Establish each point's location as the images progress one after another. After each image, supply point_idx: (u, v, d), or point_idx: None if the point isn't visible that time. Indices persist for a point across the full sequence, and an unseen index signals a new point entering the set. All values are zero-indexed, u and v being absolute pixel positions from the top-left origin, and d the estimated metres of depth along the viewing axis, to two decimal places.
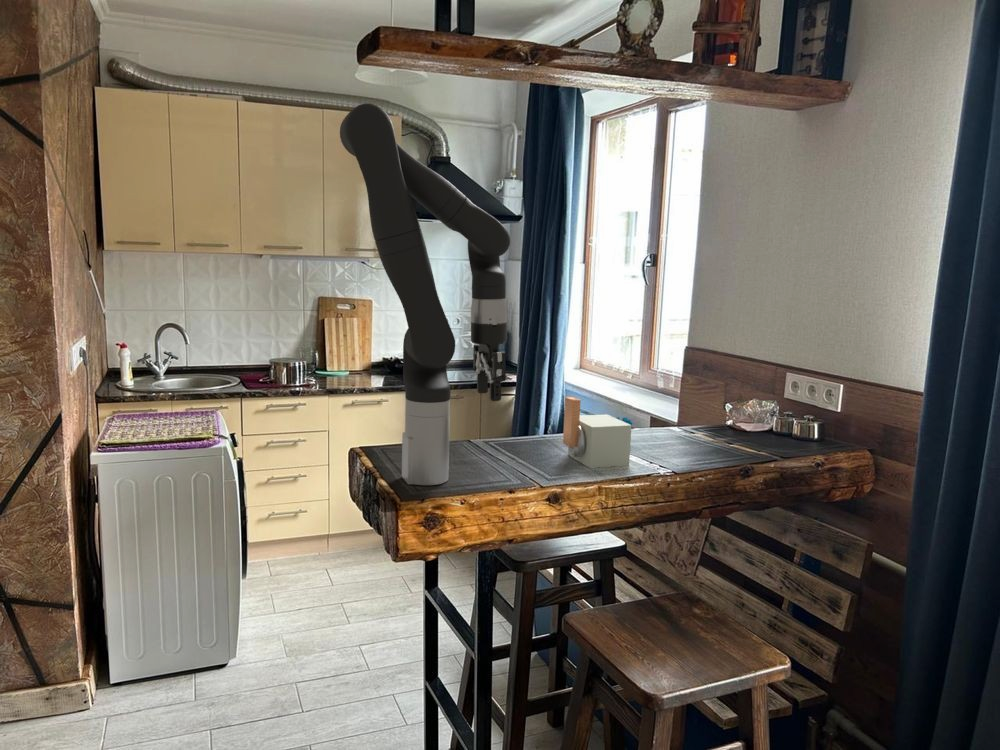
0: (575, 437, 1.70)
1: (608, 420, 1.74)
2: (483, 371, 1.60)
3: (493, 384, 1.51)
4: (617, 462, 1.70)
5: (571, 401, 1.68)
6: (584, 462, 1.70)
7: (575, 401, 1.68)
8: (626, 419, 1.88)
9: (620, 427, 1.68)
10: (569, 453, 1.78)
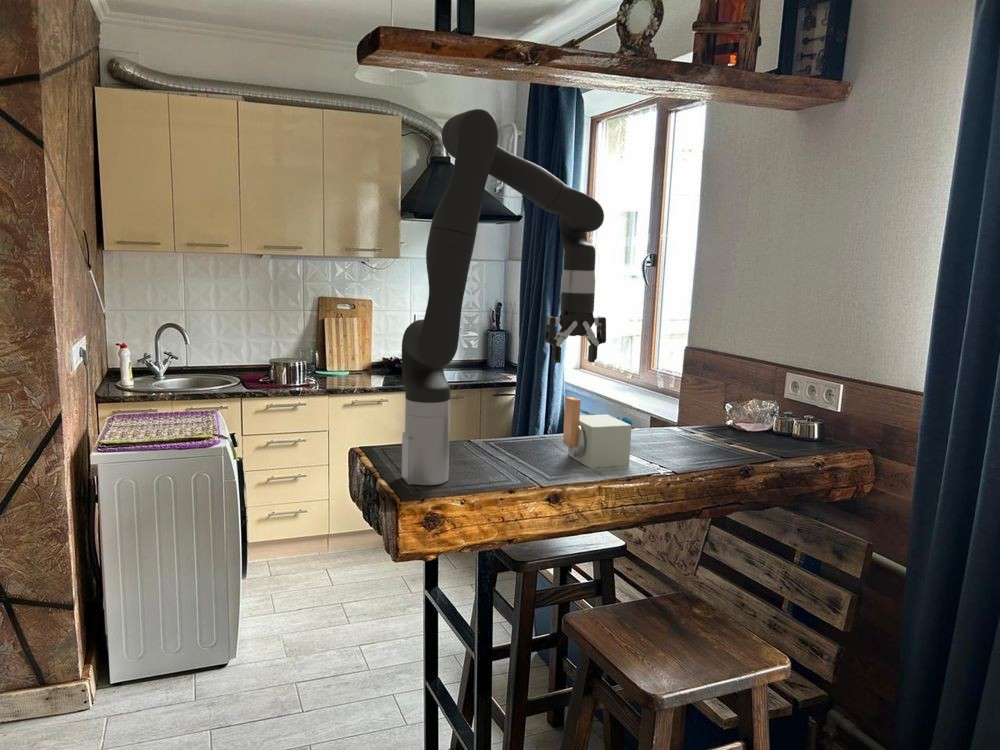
0: (575, 437, 1.70)
1: (608, 420, 1.74)
2: None
3: (596, 346, 1.69)
4: (617, 462, 1.70)
5: (571, 401, 1.68)
6: (584, 462, 1.70)
7: (575, 401, 1.68)
8: (626, 419, 1.88)
9: (620, 427, 1.68)
10: (569, 453, 1.78)
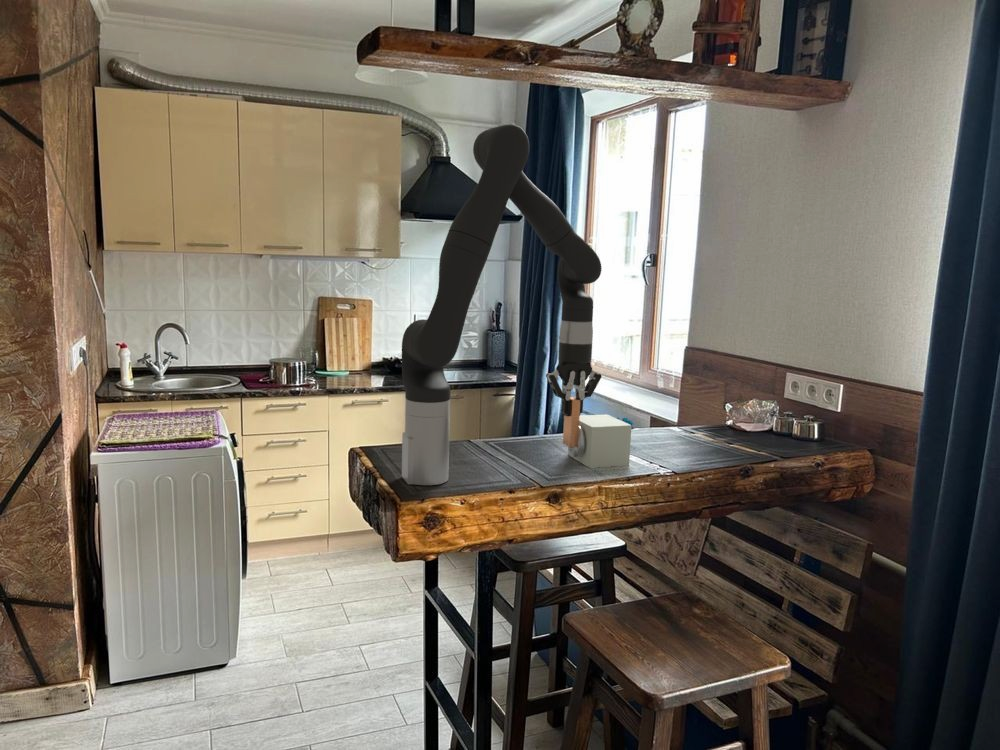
0: (575, 437, 1.70)
1: (608, 420, 1.74)
2: None
3: (581, 400, 1.70)
4: (617, 462, 1.70)
5: (571, 401, 1.68)
6: (584, 462, 1.70)
7: (575, 401, 1.68)
8: (626, 419, 1.87)
9: (620, 427, 1.68)
10: (569, 453, 1.78)
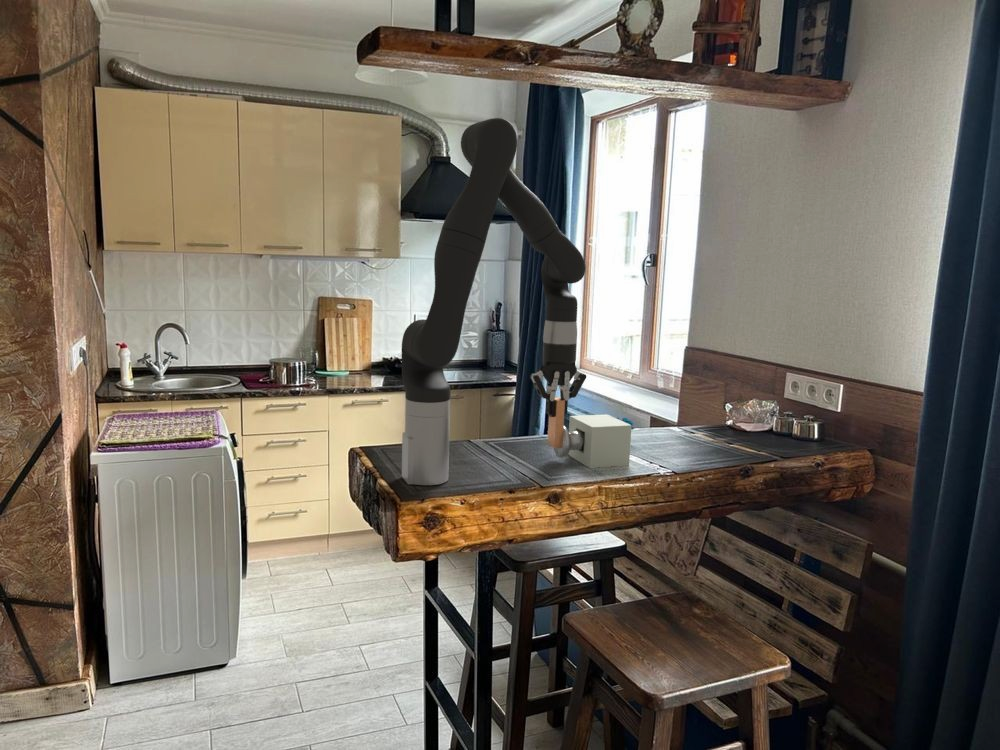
0: (559, 438, 1.68)
1: (608, 420, 1.74)
2: None
3: (566, 401, 1.69)
4: (617, 462, 1.70)
5: (555, 402, 1.67)
6: (584, 462, 1.70)
7: (559, 402, 1.67)
8: (626, 420, 1.87)
9: (620, 427, 1.68)
10: (569, 453, 1.78)
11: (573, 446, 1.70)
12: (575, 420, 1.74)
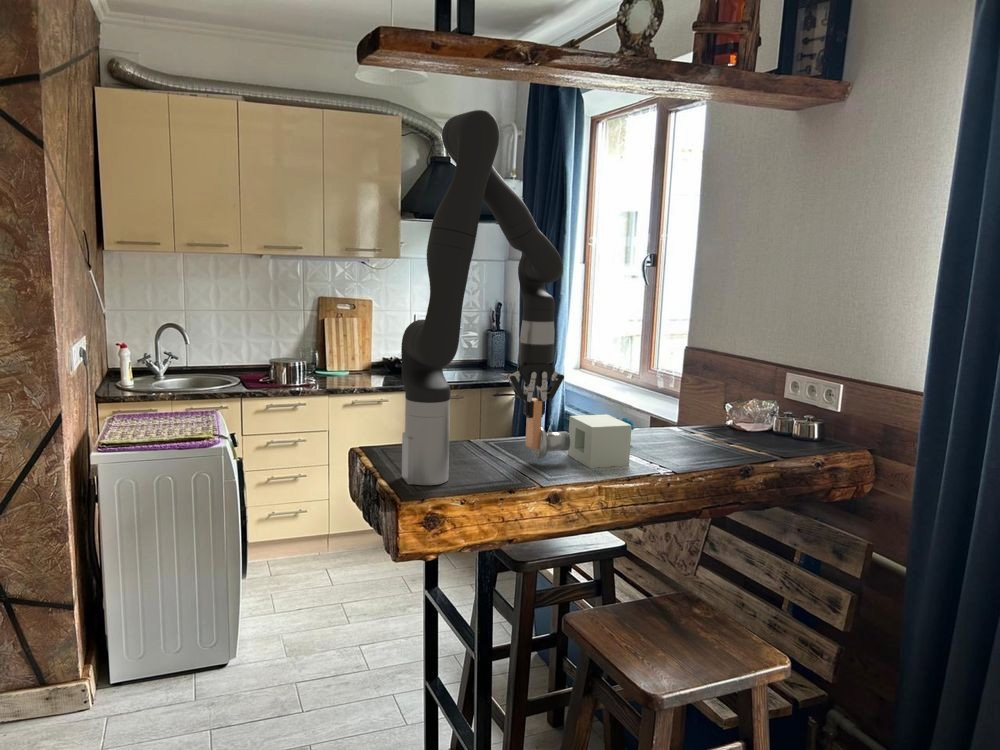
0: (537, 439, 1.66)
1: (608, 420, 1.74)
2: None
3: (544, 401, 1.67)
4: (617, 462, 1.70)
5: (533, 402, 1.65)
6: (584, 462, 1.70)
7: (537, 402, 1.65)
8: (626, 420, 1.87)
9: (620, 427, 1.68)
10: (569, 453, 1.78)
11: (551, 447, 1.68)
12: (575, 420, 1.74)
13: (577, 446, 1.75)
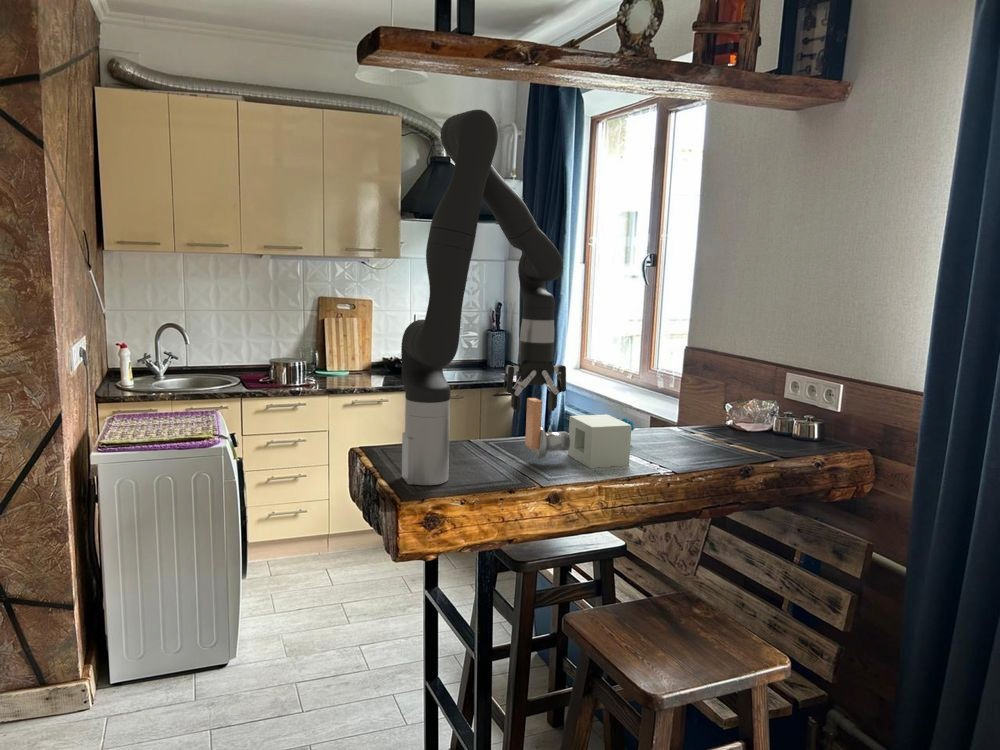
0: (537, 439, 1.66)
1: (608, 420, 1.74)
2: None
3: (556, 395, 1.68)
4: (617, 462, 1.70)
5: (532, 402, 1.65)
6: (584, 462, 1.70)
7: (536, 402, 1.65)
8: (626, 420, 1.87)
9: (620, 427, 1.68)
10: (569, 453, 1.78)
11: (551, 448, 1.68)
12: (575, 420, 1.74)
13: (577, 446, 1.75)
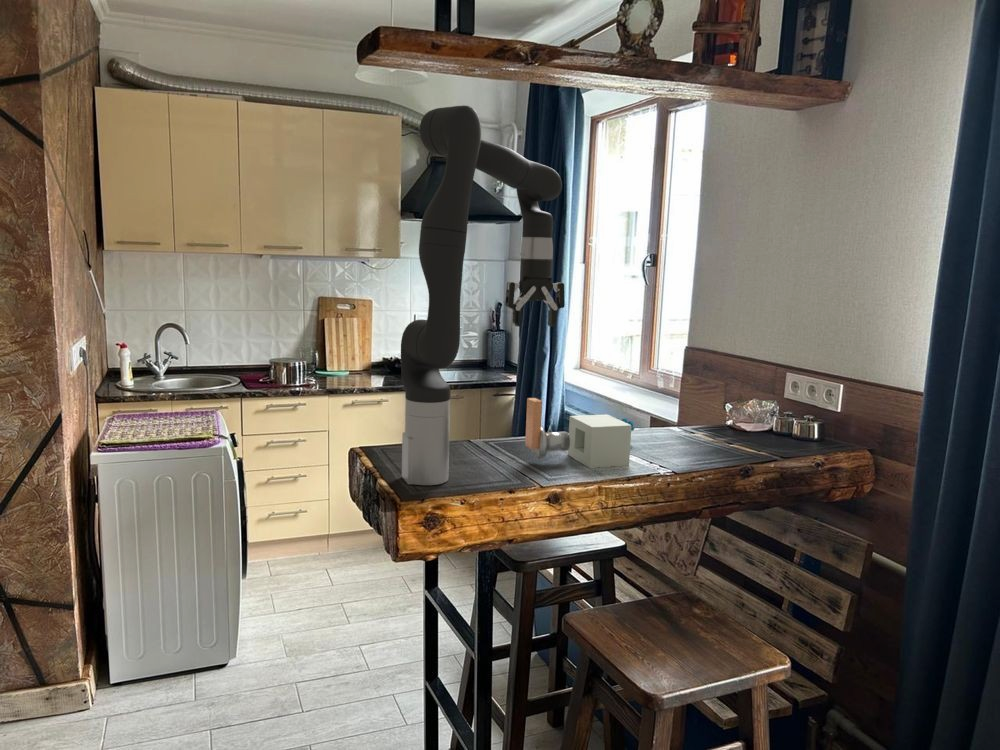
0: (537, 439, 1.66)
1: (608, 420, 1.74)
2: None
3: (555, 311, 1.77)
4: (617, 462, 1.70)
5: (532, 402, 1.65)
6: (584, 462, 1.70)
7: (536, 402, 1.65)
8: (625, 420, 1.86)
9: (620, 427, 1.68)
10: (569, 453, 1.78)
11: (551, 448, 1.68)
12: (575, 420, 1.74)
13: (577, 446, 1.75)
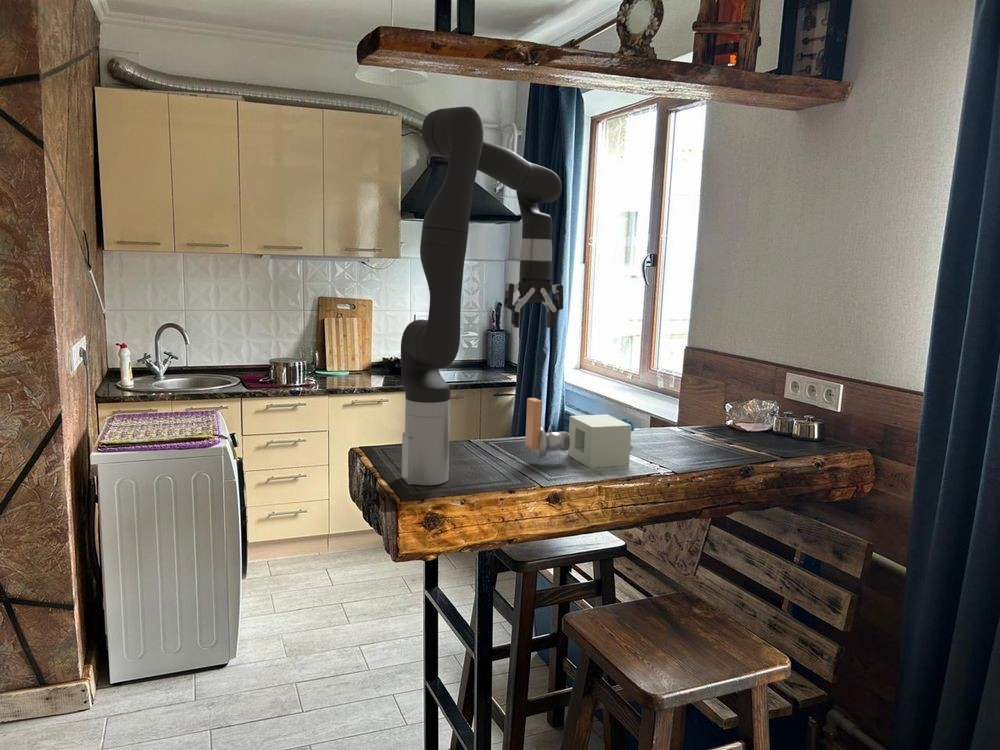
0: (537, 439, 1.66)
1: (608, 420, 1.74)
2: None
3: (553, 313, 1.77)
4: (617, 462, 1.70)
5: (532, 402, 1.65)
6: (584, 462, 1.70)
7: (536, 402, 1.65)
8: (625, 420, 1.86)
9: (620, 427, 1.68)
10: (569, 453, 1.78)
11: (551, 448, 1.68)
12: (575, 420, 1.74)
13: (577, 446, 1.75)
